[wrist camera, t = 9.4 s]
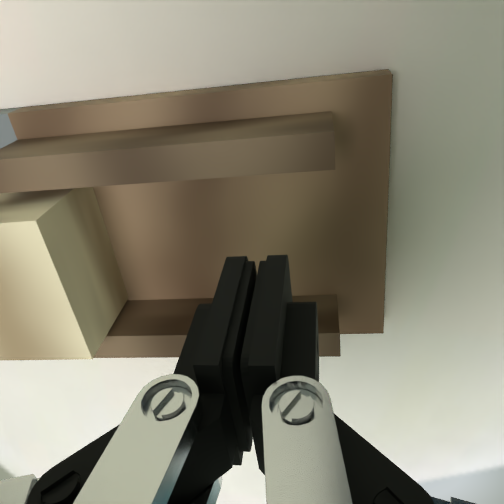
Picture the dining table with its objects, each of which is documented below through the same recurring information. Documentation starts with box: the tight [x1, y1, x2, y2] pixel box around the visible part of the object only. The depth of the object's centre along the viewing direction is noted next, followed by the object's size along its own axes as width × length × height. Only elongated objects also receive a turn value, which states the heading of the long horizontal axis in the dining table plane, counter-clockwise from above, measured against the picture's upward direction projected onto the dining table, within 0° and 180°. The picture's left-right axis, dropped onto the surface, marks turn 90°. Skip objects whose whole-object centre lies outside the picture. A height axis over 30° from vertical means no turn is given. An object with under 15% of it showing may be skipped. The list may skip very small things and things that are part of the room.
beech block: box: [0, 187, 129, 360], centre depth 18 cm, size 6×6×4 cm
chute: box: [0, 69, 393, 358], centre depth 19 cm, size 23×11×4 cm, turn 97°
